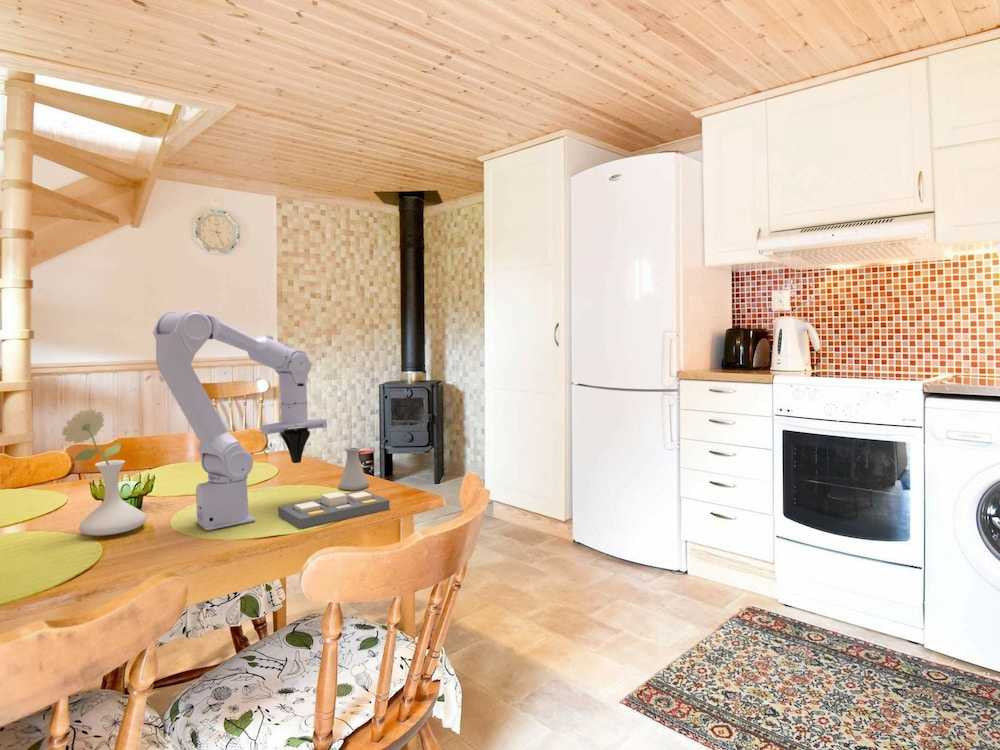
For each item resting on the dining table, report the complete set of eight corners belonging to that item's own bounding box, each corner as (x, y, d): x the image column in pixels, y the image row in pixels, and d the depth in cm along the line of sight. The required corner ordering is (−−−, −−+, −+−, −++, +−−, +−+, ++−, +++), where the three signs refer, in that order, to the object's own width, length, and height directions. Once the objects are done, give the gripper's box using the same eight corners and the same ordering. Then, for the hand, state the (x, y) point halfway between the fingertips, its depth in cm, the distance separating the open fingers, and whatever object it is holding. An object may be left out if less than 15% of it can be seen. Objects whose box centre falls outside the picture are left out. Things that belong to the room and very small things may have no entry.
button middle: (329, 507, 128) (329, 498, 128) (321, 504, 131) (321, 494, 131) (347, 504, 131) (347, 495, 130) (339, 500, 134) (338, 491, 134)
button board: (300, 529, 120) (300, 518, 120) (278, 515, 129) (278, 505, 129) (389, 509, 133) (389, 499, 133) (363, 498, 142) (363, 489, 142)
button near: (302, 518, 124) (301, 508, 124) (294, 514, 127) (294, 504, 127) (320, 514, 127) (320, 505, 127) (313, 510, 130) (312, 501, 130)
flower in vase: (134, 519, 128) (127, 401, 127) (156, 529, 121) (150, 405, 119) (60, 535, 118) (52, 408, 117) (80, 547, 111) (72, 412, 109)
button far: (355, 507, 132) (355, 498, 132) (347, 503, 135) (347, 494, 135) (372, 503, 135) (372, 494, 134) (363, 500, 138) (363, 491, 137)
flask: (332, 489, 151) (331, 449, 150) (352, 483, 157) (351, 444, 157) (355, 492, 147) (353, 452, 147) (374, 485, 154) (373, 446, 153)
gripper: (267, 407, 130) (270, 469, 131) (331, 401, 139) (333, 460, 140) (256, 404, 135) (259, 464, 136) (319, 399, 144) (320, 455, 145)
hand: (296, 462), depth 138 cm, fingers closed
